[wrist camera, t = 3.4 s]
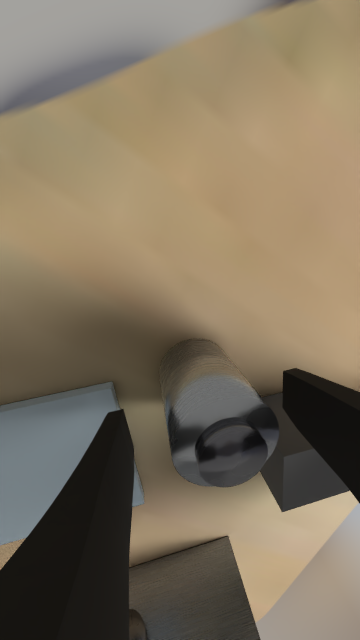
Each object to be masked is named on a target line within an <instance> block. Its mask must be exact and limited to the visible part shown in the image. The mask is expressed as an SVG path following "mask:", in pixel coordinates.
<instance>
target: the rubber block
mask: <svg viewBox="0 0 360 640" xmlns="http://www.w3.org/2000/svg"><path fill="white" fill-rule="evenodd" d="M262 399H263V400H264V401H265V402H266V404H267V405H268V406H269V407H270V409H271V410H272V411H273V412H274V414H275V415H276V418H277V420H278V424H279V438H278V442H277V444H276V447H275V449H274V451H273V453H272V454H271V456H270V457H269V459H268V460H267V461H266V462H265V464H264V466H263V467H262V468H261V470H260V472H261V474H262V476H263V478H264V480H265V481H266V483H267V485H268V487H269V489H270V491H271V492H272V494H273V496H274V498H275V500H276V502H277V503H278V505H279V507H280V509H281V511H282V512H285V511H288V510H291V509H294V508H297V507H300V506H303V505H306V504H310V503H313V502H316V501H319V500H322V499H325V498H328V497H331V496H335V495H338V494H341V493H344V492H347V491H349V489H348V487H347V486H346V485H345V484H344V482H343V481H342V480H341V479H340V478H339V477H338V475H337V474H336V473H335V472H334V471H333V470H332V469H331V467H330V466H329V465H328V464H327V463H326V462H325V461H324V459H323V458H322V457H321V456H320V455H319V454H318V453H317V451H316V450H315V449H314V448H313V447H312V446H311V445H310V443H309V442H308V441H307V440H306V439H305V438H304V436H303V435H302V434H301V433H300V432H299V431H298V429H297V428H296V427H295V425H294V424H293V422H292V421H291V420H290V418H289V417H288V415H287V414H286V412H285V411H284V409H283V408H282V401H283V392H282V393H278V394H274V395H270V396H266V397H262Z"/></svg>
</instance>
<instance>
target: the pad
mask: <svg viewBox="0 0 360 640" xmlns="http://www.w3.org/2000/svg"><path fill="white" fill-rule="evenodd" d="M116 410H120V408H119V404H118V400H117V397H116V393H115V390H114V386H113V383H112V382H107V383H103V384H98V385H93V386H89V387H84V388H79V389H75V390H70V391H66V392H61V393H56V394H52V395H47V396H42V397H38V398H33V399H29V400H24V401H19V402H15V403H10V404H5V405H1V406H0V545H3V544H6V543H10V542H13V541H17V540H20V539H24V538H27V536H28V535H29V534H30V533H31V531H32V530H33V529H34V527H35V526H36V525H37V523H38V522H39V521H40V519H41V518H42V517H43V515H44V514H45V512H46V511H47V510H48V508H49V507H50V506H51V504H52V503H53V501H54V500H55V498H56V497H57V496H58V494H59V493H60V491H61V490H62V488H63V487H64V485H65V484H66V482H67V480H68V479H69V477H70V476H71V474H72V473H73V471H74V470H75V468H76V467H77V465H78V463H79V462H80V460H81V459H82V457H83V455H84V453H85V452H86V450H87V448H88V447H89V445H90V443H91V442H92V440H93V438H94V436H95V435H96V433H97V431H98V429H99V427H100V426H101V424H102V422H103V420H104V418H105V416H106V415H107V413H108V412H112V411H116ZM141 504H144V492H143V489H142V485H141V481H140V478H139V474H138V471H137V467H136V464H135V460H134V488H133V503H132V507H134V506H138V505H141Z"/></svg>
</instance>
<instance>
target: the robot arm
mask: <svg viewBox="0 0 360 640" xmlns="http://www.w3.org/2000/svg"><path fill="white" fill-rule="evenodd" d="M282 408H283V409H284V411H285V412H286V414H287V415H288V417H289V418H290V420H291V421H292V422H293V424H294V425H295V427H296V428H297V429H298V431H299V432H300V433H301V434H302V435H303V436H304V438H305V439H306V440H307V441H308V442H309V443H310V445H311V446H312V447H313V448H314V449H315V450H316V451H317V453H318V454H319V455H320V456H321V457H322V458H323V459H324V461H325V462H326V463H327V464H328V465H329V466H330V467H331V469H332V470H333V471H334V472H335V473H336V474H337V475H338V477H339V478H340V479H341V480H342V481H343V482H344V484H345V485H346V486H347V487H348V489H349V490H350V491H351V492H352V494H353V495H354V496H355V498H356V499H357V500H358V502H359V503H360V392H358V391H355V390H352V389H350V388H347V387H344V386H342V385H339V384H337V383H334V382H332V381H329V380H326V379H324V378H321V377H319V376H316V375H314V374H311V373H308V372H306V371H303V370H300V369H297V368H294V369H290V370H286V371H283V401H282ZM133 488H134V446H133V442H132V439H131V435H130V432H129V428H128V424H127V421H126V417H125V414H124V410H123V409H121V410H116V411H112V412H108V413H107V415H106V416H105V418H104V420H103V422H102V424H101V426H100V427H99V429H98V431H97V433H96V435H95V436H94V438H93V440H92V442H91V443H90V445H89V447H88V448H87V450H86V452H85V453H84V455H83V457H82V459H81V460H80V462H79V463H78V465H77V467H76V468H75V470H74V471H73V473H72V474H71V476H70V477H69V479H68V480H67V482H66V484H65V485H64V487H63V488H62V490H61V491H60V493H59V494H58V496H57V497H56V498H55V500H54V501H53V503H52V504H51V506H50V507H49V508H48V510H47V511H46V512H45V514H44V515H43V517H42V518H41V519H40V521H39V522H38V523H37V525H36V526H35V527H34V529H33V530H32V531H31V533H30V534H29V535H28V536H27V538H26V539H25V540H24V542H23V543H22V544H21V545H20V547H19V548H18V549H17V550H16V552H15V553H14V554H13V555H12V557H11V558H10V559H9V560H8V562H7V563H6V564H5V565H4V567H3V568H2V569H1V570H0V640H130V638H129V548H130V532H131V518H132V503H133Z"/></svg>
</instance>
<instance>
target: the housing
mask: <svg viewBox="0 0 360 640" xmlns="http://www.w3.org/2000/svg"><path fill="white" fill-rule="evenodd" d="M129 638H130V640H260V637H259V633H258V630H257V627H256V624H255V621H254V617H253V614H252V611H251V608H250V604H249V601H248V598H247V595H246V592H245V588H244V585H243V582H242V579H241V575H240V572H239V569H238V566H237V562H236V559H235V556H234V553H233V550H232V546H231V543H230V540H229V537H224V538H221V539H218V540H215V541H212V542H209V543H206V544H203V545H200V546H197V547H193V548H190V549H187V550H184V551H181V552H178V553H175V554H172V555H169V556H166V557H162V558H159V559H156V560H153V561H150V562H147V563H144V564H141V565H138V566H135V567H131V568H129Z"/></svg>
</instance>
